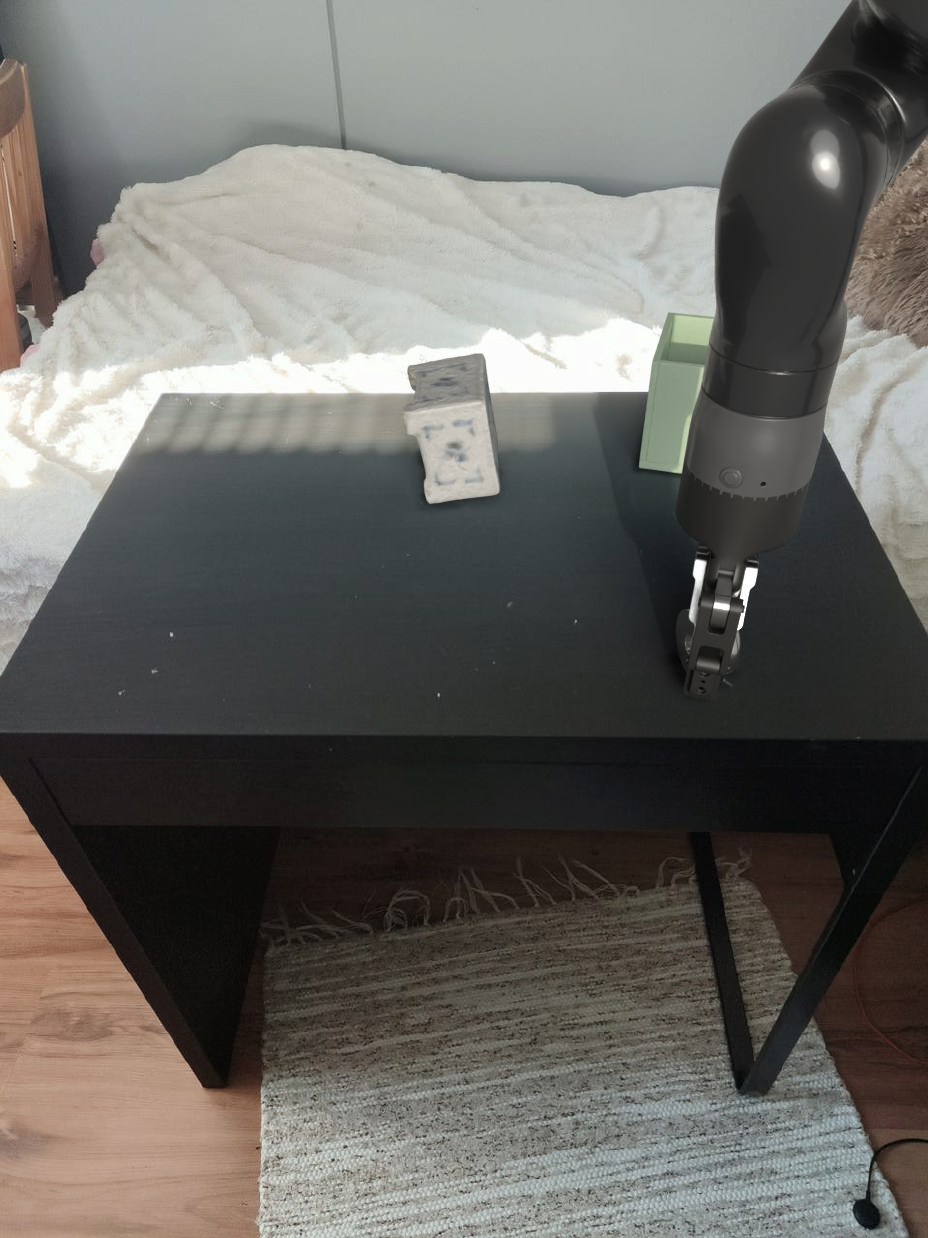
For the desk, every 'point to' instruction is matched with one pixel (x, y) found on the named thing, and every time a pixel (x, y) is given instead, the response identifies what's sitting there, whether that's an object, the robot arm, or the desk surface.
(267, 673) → the desk surface
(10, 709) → the desk surface
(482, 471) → the incense holder
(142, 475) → the desk surface
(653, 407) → the waste bin
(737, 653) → the metal grooved wheel
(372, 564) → the desk surface
